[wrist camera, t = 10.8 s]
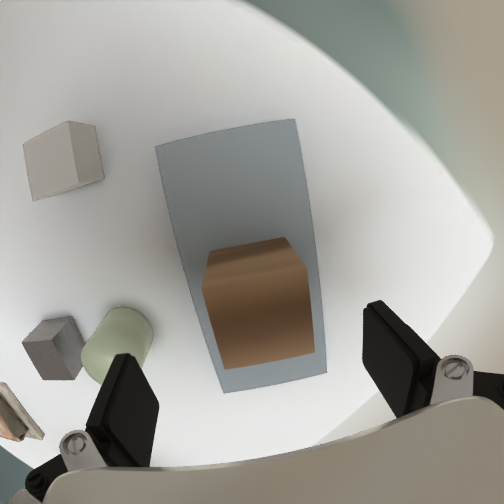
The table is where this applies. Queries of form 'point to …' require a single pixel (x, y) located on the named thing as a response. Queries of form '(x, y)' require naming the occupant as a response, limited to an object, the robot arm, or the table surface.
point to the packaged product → (15, 418)
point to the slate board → (243, 223)
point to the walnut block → (258, 303)
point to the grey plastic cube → (62, 159)
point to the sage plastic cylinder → (116, 341)
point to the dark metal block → (56, 349)
